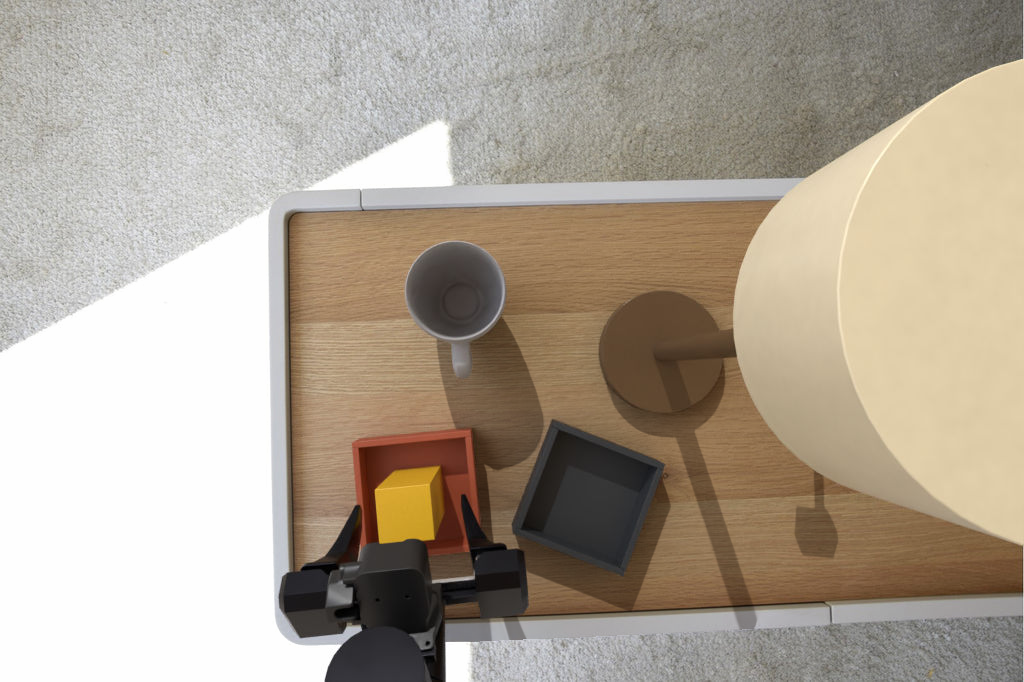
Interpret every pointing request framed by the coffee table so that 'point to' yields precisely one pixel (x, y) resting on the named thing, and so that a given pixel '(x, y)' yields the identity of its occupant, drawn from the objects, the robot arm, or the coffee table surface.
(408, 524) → the yellow box
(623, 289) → the coffee table surface
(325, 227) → the coffee table surface
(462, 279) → the mug
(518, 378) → the coffee table surface
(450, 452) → the bin left
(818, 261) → the tall lamp
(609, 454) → the bin right
